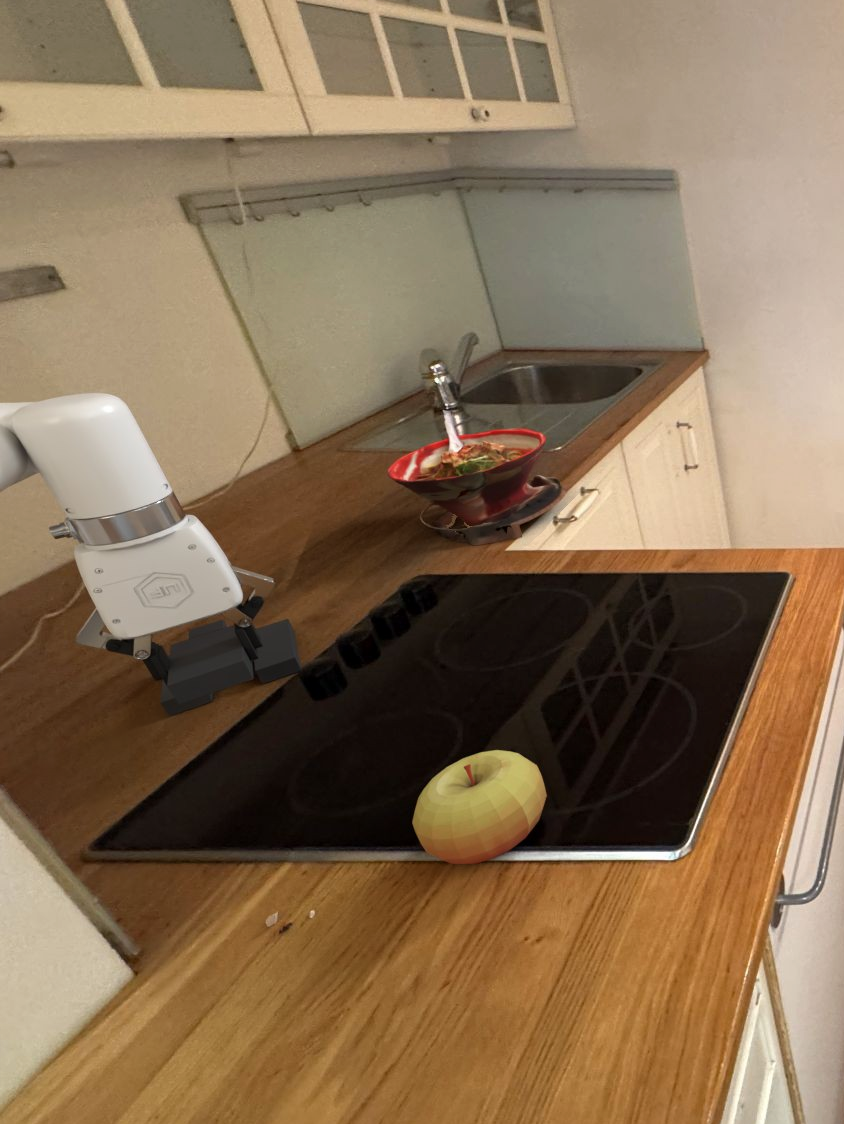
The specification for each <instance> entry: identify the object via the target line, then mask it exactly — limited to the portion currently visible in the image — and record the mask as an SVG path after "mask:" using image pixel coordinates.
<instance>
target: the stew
mask: <svg viewBox="0 0 844 1124" xmlns="http://www.w3.org/2000/svg"><path fill="white" fill-rule="evenodd" d="M442 412H443V418H444V421H443V424H444V428H445V429H446V434H447V436H446V437H445V438H443V439H442V440H438V441H436V442H433V443H430V444H426V445H424V446H423V447H420V448H418V449H416V450H414V451H411V452H409V453H406V454H404V455H403V456H401V457H399V458H397V460H395V461H394V462H393V463H391V465H390V466H389V467H388V469H387V476H388V477H389V478H390V479H391V480H392V481H394V482H395V483H397V484H399V485H401V486H403V487H405V488H406V489H408V490H410V491H411V492H413V493H414V494H416V495H418V496H420V497H422V498H424V499H426V500H428V502H429V504H428V505H427V506H426V507H425V508H424V509H423V510H422V511H421V513H420V515H419V521H420V523H421V524H422V525H423V526H424V527H426V528H429V529H431V530H433V531H437V532H438V533H437V534H439V533H440V534H439V535H441V534H442V535H441V536H442V537H443V536H444V537H443V538H446V539H450V538H452V539H454V540H453V541H456V540H459V541H460V542H459V541H458V542H459V543H469V545H470V546H481V545H486V544H492V543H496V542H503V541H506V540H511V539H519V538H523V533H522V530H521V527H520V525H522V524H524V523H527V522H530V521H531V520H534V519H536V518H537V517H539V516H542V515H543V514H545V513H546V512H548V511H550V510H551V509H553V508H554V507H555V506H557V505H558V504H559V503H560V502H561V501H562V500H563V499H564V498H565V496H566V494H567V493H568V492H567V490H566V489H564V488H563V487H562V485H561V483H560V481H559V480H558V479H557V478H556V476H544V475H539V474H537V475H535V476H534V477H533V478H532V479H529V478H530V475H531V472H532V470H533V468H534V467H535V465H536V463H537V462H538V459H539V458H540V457H541V455H542V451H543V449H544V446H545V444H546V442H547V437H546V435H545V434H544V432H543V433H542V432H541V431H537V430H535V429H530V428H527V427H526V428H520V427H513V428H501V429H500V428H499V429H498V428H495V429H490V430H485V431H482V432H481V431H480V432H476V433H470V434H463V435H459V434H458V431H457V430H456V428H455V427H456V426H455V422H454V419H453V415H452V410H445V409H442ZM432 506H436V507H437V506H439V507H440V508H442V509H444V510H446V511H445V512H444V514H442V515H441V516H440V517H439V518H438V520H433V521H432V523H433V526H432V525H431V524H429V523H427V522H426V521H425V519H424V517H423V514H424V512H426V511H427V510H428V509H430V507H432ZM453 514H455V515H456V516H458V518H460V519H461V520H462V522H463V521H464V522H465V523H466V524H467V525H469V526H472V527H470V528H465V527H464V528H463V527H462V528H458V529H455V528H453V529H449V528H447V526H446V525H449V524H450V523H451V522H452V518H453V517H452V516H454V515H453ZM464 522H463V523H464ZM452 523H453V522H452ZM504 527H507V529H506V530H505V529H504ZM498 529H499V530H498ZM455 531H456V532H455ZM447 537H448V538H447ZM449 537H450V538H449ZM452 539H451V540H452Z"/></svg>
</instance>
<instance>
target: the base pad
mask: <svg viewBox="0 0 844 1124" xmlns="http://www.w3.org/2000/svg"><path fill="white" fill-rule="evenodd" d="M255 628H256V630H257V632H258V634H259V636H260V638H261V640H262V643H263V646H262V647H259V648H258V657H259V659H256V660H252V666H253V677H255V676H257V678H258V680H259V682H260V683H261V685H264V684H267V683H271V682H273V681H275V680H279V679H282V678H284V677H287V676H290V675H293V674H296V673H299V672H302V670H303V669H302V664H301V659H300V655H299V649H298V644H297V637H296V633H295V629H294V627H293V625H292V623H291V621H290V619H289V618H285V619H282V620H278V621H276V622H273V623H270V624H267V625H263V626H259V627H255ZM168 657H170V654H169V655H168ZM211 702H214V693H211V694H209V695H206V696H203V697H200V698H197V699H194V700H191V701H188V702H185V703H183V704H180V705H179V704H178V703H177V701H176V700H175V698H174V696H173V695H172V693H171V691H170V690H169V688H168V687H167V686H166V684H165V682H164V681H163V679H162V681H161V692H160V705H161V706H162V708H163V710H164V712H165V713H166V714H167V716H168V717H172V716H175V715H177V714H180V713H184V712H186V711H189V710H192V709H196V708H197V707H200V706H201V707H202V706H203V705H206V704H210V703H211Z"/></svg>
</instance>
